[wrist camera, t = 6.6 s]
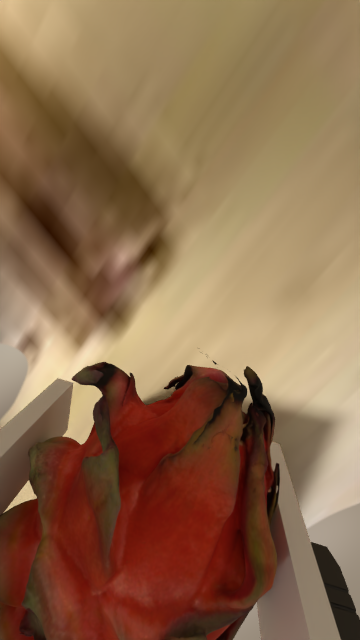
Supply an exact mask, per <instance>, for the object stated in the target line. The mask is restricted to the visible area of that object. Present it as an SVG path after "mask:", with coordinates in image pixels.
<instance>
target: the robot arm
mask: <svg viewBox="0 0 360 640" xmlns="http://www.w3.org/2000/svg"><path fill="white" fill-rule="evenodd" d="M72 389H73V383H72V382H69V381H65V380H62V379H58V378H57V379H56V380H55V381H54V382H53V383H52V384H51V385H50V386H48V387H47V388H46V389H45V390H44V391H43V392H42V393H41V394H40V395H38V396H37V397H36V398H35V399H34V400H33V401H32V402H31V403H29V404H28V405H27V406H26V407H25V408H24V409H23V410H22V411H21V412H19V413H18V414H17V415H16V416H15V417H14V418H13V419H12V420H10V421H9V422H8V423H7V424H6V425H5V426H4V427H3V428H2V429H0V515H1V514H3V512H4V511H5V510H6V509H7V507H8V506H9V505H10V503H11V502H12V501H13V499H14V498H15V497H16V496H17V494H18V493H19V492H20V490H21V489H22V488H23V486H24V485H25V484H26V483H27V481H28V480H29V473H30V470H31V467H30V457H29V456H28V451H29V449H30V448H31V447H32V446H34V445H35V444H36V443H37V442H44V441H46V440H48V439H50V438H53V437H62V436H63V434H64V433H65V432H66V431H67V428H68V420H69V413H70V405H71V397H72ZM270 455H271V466H272V469H273V471H274V470H275V466H276V463H279V468H280V486H279V497H278V503H277V507H276V509H275V512H274V514H273V516H272V520H271V525H270V532H271V536H272V539H273V541H274V545H275V549H276V553H277V570H276V574H275V578H274V582H273V586H272V588H271V589H270V590H269V591H268V592H267V593H265V594H264V595H263V596H262V597H261V598H259V599H258V601H257V607H258V617H259V625H260V634H261V640H360V619H359V616H358V615H357V614H356V609H355V606H354V603H353V601H352V598H351V596H350V595H349V593H348V588H347V585H346V582H345V579H344V577H343V575H342V571H341V569H340V567H339V565H338V564H337V562H336V561H335V559H334V557H333V556H332V554H331V553H330V551H329V550H328V548H327V547H325V546H322V545H319V544H316V543H313V542H310V539H309V536H308V533H307V529H306V526H305V523H304V520H303V517H302V513H301V510H300V507H299V504H298V501H297V497H296V494H295V491H294V488H293V485H292V481H291V478H290V475H289V472H288V469H287V465H286V462H285V459H284V456H283V453H282V449H281V446H280V444H279V443H275V442H272V443H271V446H270ZM277 491H278V486H277V488H276V493H277ZM268 492H271V488H270V489H269V490H268Z"/></svg>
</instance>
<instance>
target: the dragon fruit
mask: <svg viewBox="0 0 360 640" xmlns="http://www.w3.org/2000/svg"><path fill="white" fill-rule="evenodd" d="M197 348H198V347H197ZM198 349H199V348H198ZM202 352H203V351H202ZM202 352H201V353H202ZM207 356H208V355H207ZM207 356H206V357H207ZM213 362H214V361H213ZM214 363H215V362H214ZM215 364H217V363H215ZM229 372H230V371H229ZM130 376H131V377H129V376H128V375H127V374H126V373H125V372H124V371H122V370H121V369H119V368H118V367H116V366H115V365H112V364H109V363H106V362H101V363H97V364H95V365H92V366H87V367H85V368H83V369H82V370H81V371H80V372H78V373H77V374H76V375H75V376H73V378H72V380H73V381H76V382H78V383H79V384H81V385H93V386H96V387H97V388H99V390H100V391H101V392H102V395H103V396H102V397H101V398H100V400H99V401H98V402H97V403H96V404H95V407H94V410H93V418H94V425H93V428H92V430H91V433H90V435H89V437H88V439H87V441H86V442H85V443H84V444H82V445H80V444H79V443H78V442H77V441H75V440H73V439H71V438H68V437H53V438H50V439H48V440H46V441H44V442H37V443H36V444H35V445H34V446H32V447H31V448H30V449H29V451H28V456H29V457H30V467H31V470H30V473H29V481H30V484H31V486H32V489H33V491H34V494H36V496H37V499H34V500H29V501H26V502H23V503H21V504H19V505H17V506H14V507H13V508H11V509H9V510H8V511H6V512H5V513H3V514H1V515H0V640H233V638H234V636H235V635H236V633H237V631H238V629H239V628H240V626H241V624H242V623H243V621H244V620H245V618H246V616H247V615H248V613H249V612H250V610H252V608H253V606H254V605H255V603H256V602H257V601H258V599H259V598H261V597H262V596H263V595H264V594H265V593H267V592H268V591H269V590H270V589H271V588H272V586H273V582H274V578H275V574H276V570H277V553H276V549H275V545H274V541H273V539H272V536H271V532H270V525H271V520H272V516H273V514H274V512H275V509H276V507H277V503H278V497H279V486H280V468H279V463H276V466H275V470H274V471H273V469H272V466H271V455H270V446H271V443H272V437H273V433H274V425H275V417H274V413H273V411H272V409H271V406H270V404H269V402H268V400H267V398H266V396H264V395H263V394H262V392H263V387H262V383H261V381H260V379H259V377H258V376H257V374H256V373H255V372H254V371H253V370H252V369H251V368H250V367H248V366H247V367H246V369H245V370H244V376H245V377H246V379H247V381H248V385H249V390H250V394H251V397H252V400H253V405H252V403H251V404H250V405H249V408H248V412H247V415H246V414H245V413H244V412H242V409H241V408H242V403H243V401H244V398H245V397H246V396H247V388H246V386H244V385H243V384H242V383H241V382H240V381H239V382H240V384H241V385H239V384H237V383H236V382H234V381H233V380H232V379H231V378H230V377H229V376H228V375H227V374H226V373H225V372H223V371H221V370H217V369H214V368H205V367H197V366H191V365H187V366H186V369H185V373H184V375H182V376H180V377H178V376H177V378H176V377H175V379H173V380H171V381H170V382H169V385H168V386H167V387H165V388H164V389H169V388H171V387H173V386H174V387H175V384H176V383H177V385H176V387H175V389H176V390H175V391H174V392H173V394H172V395H171V397H169V398H167V399H165V400H160V401H157V402H155V403H152V404H150V405H145V404H144V403H143V402H142V401H141V399H140V397H139V396H138V394H137V392H136V388H135V379H134V376H133V374H132V373H130ZM235 377H236V376H235ZM236 378H237V377H236ZM237 379H238V378H237ZM238 380H239V379H238ZM178 382H179V383H178ZM277 486H278V491H277V493H276V488H277ZM270 488H271V492H268V490H269V489H270Z"/></svg>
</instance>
